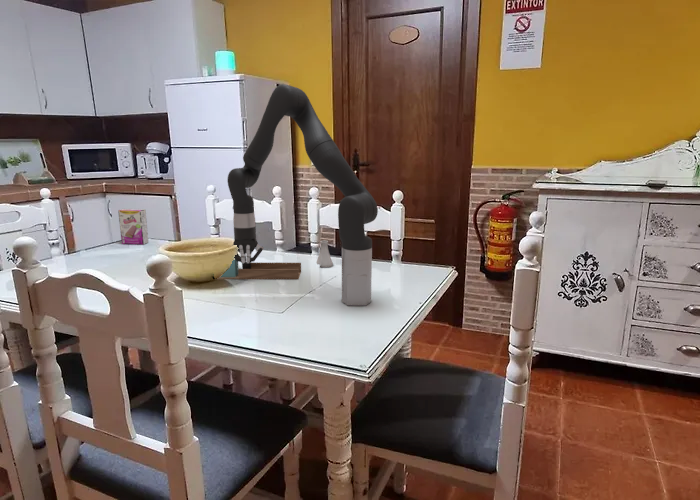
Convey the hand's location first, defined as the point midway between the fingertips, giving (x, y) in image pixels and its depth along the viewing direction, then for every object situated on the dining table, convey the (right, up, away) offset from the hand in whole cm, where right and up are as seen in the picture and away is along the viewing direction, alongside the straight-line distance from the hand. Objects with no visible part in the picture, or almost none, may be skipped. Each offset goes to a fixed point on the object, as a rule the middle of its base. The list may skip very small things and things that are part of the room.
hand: (246, 272), depth 173 cm
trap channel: (+4, -2, +1) cm, 4 cm away
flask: (+27, +2, +18) cm, 33 cm away
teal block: (-8, -1, 0) cm, 8 cm away
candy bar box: (-65, +11, +56) cm, 86 cm away
